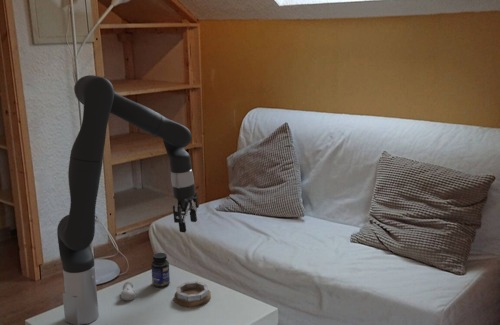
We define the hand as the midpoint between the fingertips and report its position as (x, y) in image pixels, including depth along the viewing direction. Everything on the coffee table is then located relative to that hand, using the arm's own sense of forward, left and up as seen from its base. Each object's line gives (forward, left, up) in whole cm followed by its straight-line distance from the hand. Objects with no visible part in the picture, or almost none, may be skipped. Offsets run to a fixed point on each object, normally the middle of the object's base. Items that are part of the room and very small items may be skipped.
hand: (188, 226), depth 183 cm
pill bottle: (-7, +8, -21) cm, 24 cm away
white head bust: (-19, +11, -21) cm, 31 cm away
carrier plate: (-9, -8, -21) cm, 24 cm away
